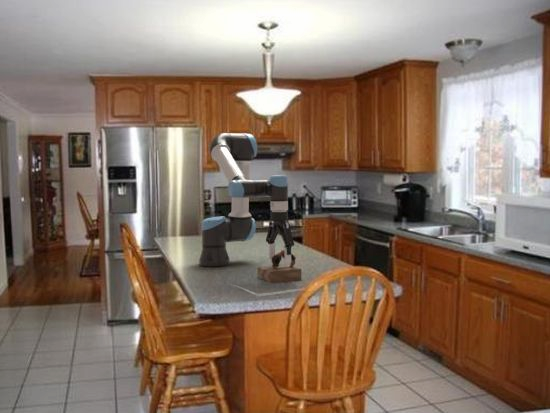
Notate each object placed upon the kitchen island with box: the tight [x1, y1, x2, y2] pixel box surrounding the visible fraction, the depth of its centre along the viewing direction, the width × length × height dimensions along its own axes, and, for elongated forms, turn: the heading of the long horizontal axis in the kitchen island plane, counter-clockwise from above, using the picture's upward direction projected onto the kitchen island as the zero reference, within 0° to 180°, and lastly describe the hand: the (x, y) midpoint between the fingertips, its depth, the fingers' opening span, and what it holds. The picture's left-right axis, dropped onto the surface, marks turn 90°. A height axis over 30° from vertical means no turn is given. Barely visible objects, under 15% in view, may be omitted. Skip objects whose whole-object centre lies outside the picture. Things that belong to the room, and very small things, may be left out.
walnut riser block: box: [257, 264, 302, 284], centre depth 242 cm, size 14×14×5 cm
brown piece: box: [270, 249, 297, 268], centre depth 241 cm, size 12×9×8 cm
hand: (279, 260), depth 241 cm, fingers open, 13 cm apart
